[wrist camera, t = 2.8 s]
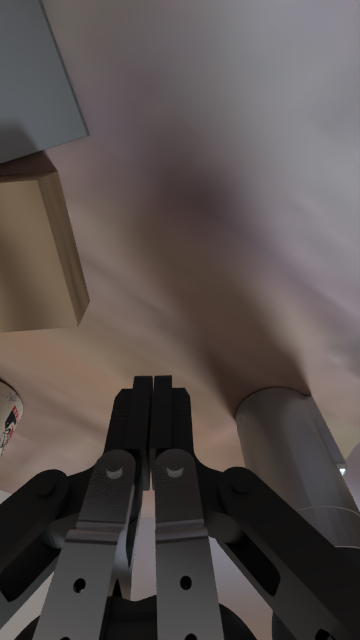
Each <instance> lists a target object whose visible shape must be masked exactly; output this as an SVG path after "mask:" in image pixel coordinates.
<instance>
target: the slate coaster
mask: <svg viewBox="0 0 360 640" xmlns="http://www.w3.org/2000/svg"><path fill="white" fill-rule="evenodd" d="M88 135H90V134H89V132H88V129H87V126H86V123H85V121H84V118H83V115H82V112H81V110H80V107H79V104H78V101H77V98H76V96H75V93H74V90H73V87H72V85H71V82H70V79H69V76H68V74H67V71H66V68H65V65H64V62H63V60H62V57H61V54H60V51H59V49H58V46H57V43H56V40H55V38H54V35H53V32H52V29H51V26H50V24H49V21H48V18H47V15H46V13H45V10H44V7H43V4H42V1H41V0H0V164H2V163H5V162H8V161H11V160H14V159H17V158H20V157H23V156H26V155H29V154H33V153H36V152H39V151H42V150H45V149H48V148H51V147H54V146H57V145H61V144H64V143H67V142H70V141H73V140H76V139H79V138H82V137H85V136H88Z"/></svg>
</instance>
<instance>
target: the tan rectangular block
mask: <svg viewBox="0 0 360 640" xmlns="http://www.w3.org/2000/svg"><path fill="white" fill-rule="evenodd" d="M89 302H90V299H89V295H88V291H87V287H86V283H85V279H84V275H83V271H82V267H81V263H80V259H79V255H78V251H77V247H76V243H75V239H74V235H73V231H72V227H71V223H70V219H69V215H68V211H67V207H66V203H65V199H64V195H63V191H62V187H61V183H60V178H59V174H58V171H52V172H40V173H29V174H18V175H6V176H0V332H13V331H26V330H39V329H52V328H65V327H78V326H79V324H80V322H81V320H82V317H83V315H84V313H85V311H86V309H87V307H88V304H89Z"/></svg>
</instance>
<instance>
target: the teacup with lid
mask: <svg viewBox="0 0 360 640" xmlns="http://www.w3.org/2000/svg"><path fill="white" fill-rule="evenodd" d="M22 413H23V405H22V402H21V400H20V398H19V396H18V395H17V394H16V392H15V391H14V390H13V389H11V388H10V387H9V386H7V385H6V384H4V383H2V382H0V458H1V456H2V454H3V452H4V450H5V448H6V446H7V444H8V442H9V440H10V438H11V436H12V434H13V432H14V430H15V428H16V426H17V424H18V422H19V420H20V418H21V416H22Z"/></svg>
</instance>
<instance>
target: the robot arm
mask: <svg viewBox="0 0 360 640" xmlns="http://www.w3.org/2000/svg"><path fill="white" fill-rule="evenodd" d="M236 425H237V431H238V436H239V439H240V444H241V449H242V453H243V458H244V463H245V467H246V468H243V467H231V468H229V469H227V470H225V471H224V472H220V471H217V470H214V469H211V468H208V467H206V466H204V465H203V464H202V463H201V462H200V461H199V460H198V459H197V457H196V456H195V453H194V449H193V433H192V418H191V402H190V396H189V394H188V392H187V391H186V389H185V388H172V375H165V376H155V377H154V391H153V378H152V376H135V377H134V383H133V389H121V391H120V392H119V393H118V395H117V396H116V397H115V400H114V405H113V410H112V414H111V419H110V424H109V429H108V434H107V438H106V443H105V448H104V452H103V455H102V456H101V457H100V458H99V459H98V460H97V462H96V463H95V465H94V466H92V467H91V468H89V469H87V470H85V471H83V472H80V473H77V474H73V475H70V476H66V474H65V473H63V472H62V471H60V470H56V469H51V470H46V471H43V472H41V473H39V474H37V475H36V476H34V477H33V478H32V479H30V480H29V481H28V482H27V483H26V484H24V485H23V486H22V487H21V488H19V489H18V490H17V491H16V492H15V493H13V494H12V495H11V496H10V497H9V498H7V499H6V500H5V501H4V502H3V503H1V504H0V629H1V628H2V627H3V626H4V625H5V624H6V623H7V621H9V619H10V618H11V617H12V616H13V615H14V614H15V613H16V612H17V610H18V609H19V608H20V607H21V606H22V605H23V604H24V603H25V602H26V601H27V600H28V598H29V597H30V596H31V595H32V594H33V593H34V592H35V591H36V590H37V589H38V588H39V587H40V586H41V584H42V583H43V582H44V581H45V580H46V579H47V578H48V577H49V576H50V575H51V573H52V572H53V571H54V570H55V571H54V574H53V577H52V580H51V583H50V586H49V590H48V593H47V596H46V599H45V602H44V605H43V608H42V611H41V615H40V616H38V617H37V618H36V619H35V620H33V621H32V622H31V623H30V624H29V625H28V626H27V627H26V628H24V629H23V631H21V633H20V634H19V635H18V636H17V637H16V639H15V640H257V639H256V638H255V636H254V635H253V633H252V632H251V631H250V629H249V628H248V627H247V626H246V624H245V623H244V622H243V621H242V620H241V619H240V618H239V617H238V616H237V615H236V614H235V613H234V612H232V611H231V610H230V609H228V608H227V607H225V606H224V605H222V604H220V603H219V602H218V595H217V589H216V582H215V576H214V569H213V563H212V556H211V550H210V543H209V537H208V536H210V537H212V538H215V539H216V541H217V543H218V544H219V545H220V547H221V548H222V549H223V550H224V551H225V553H226V554H227V555H228V556H229V558H230V559H231V560H232V561H233V562H234V564H235V565H236V566H237V567H238V568H239V570H240V571H241V572H242V573H243V575H244V576H245V577H246V578H247V579H248V580H249V582H250V583H251V584H252V585H253V587H254V588H255V589H256V590H257V592H258V593H259V594H260V595H261V596H262V597H263V599H264V600H265V601H266V602H267V604H268V605H269V606H270V607H271V608H272V610H273V616H272V639H273V640H360V511H359V509H358V507H357V505H356V503H355V501H354V499H353V496H352V494H351V492H350V490H349V488H348V486H347V484H346V482H345V480H344V478H343V477H344V474H345V472H346V469H347V465H346V462H345V460H344V458H343V456H342V454H341V452H340V450H339V448H338V446H337V444H336V442H335V440H334V438H333V436H332V434H331V432H330V430H329V428H328V426H327V424H326V422H325V420H324V418H323V416H322V414H321V413H320V411H319V409H318V407H317V405H316V403H315V401H314V399H313V397H312V396H303V395H301V394H300V393H298V392H297V391H294V390H291V389H287V388H269V389H264V390H261V391H258V392H256V393H254V394H252V395H250V396H249V397H248V398H246V399H245V400H244V401H243V402H242V403H241V404H240V406H239V407H238V409H237V412H236ZM150 473H151V474H152V487H153V490H155V519H156V520H155V522H156V530H155V543H156V544H155V545H156V587H157V588H156V589H157V595H154V596H151V597H148V598H145V599H142V600H140V601H130V600H131V586H132V570H133V562H134V556H135V549H136V543H137V536H138V529H139V522H140V516H141V506H142V496H143V491H146V490H149V489H150Z"/></svg>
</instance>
